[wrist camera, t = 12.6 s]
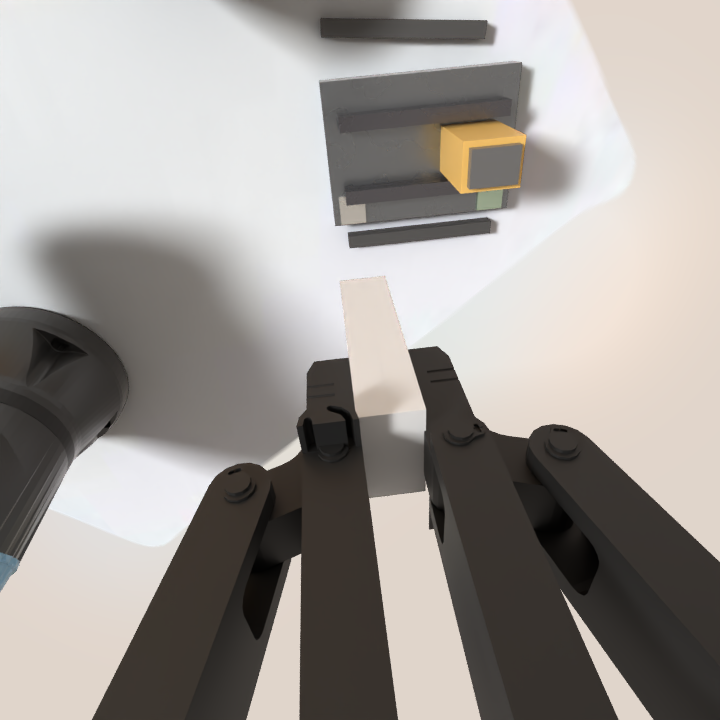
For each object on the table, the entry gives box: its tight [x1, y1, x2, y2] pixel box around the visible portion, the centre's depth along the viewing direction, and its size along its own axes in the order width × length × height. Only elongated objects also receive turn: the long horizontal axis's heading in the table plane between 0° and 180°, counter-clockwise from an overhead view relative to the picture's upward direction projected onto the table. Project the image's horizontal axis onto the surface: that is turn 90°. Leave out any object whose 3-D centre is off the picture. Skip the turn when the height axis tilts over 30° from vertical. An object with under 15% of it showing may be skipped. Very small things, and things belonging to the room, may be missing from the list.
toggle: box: [440, 120, 526, 194], centre depth 32 cm, size 4×3×7 cm
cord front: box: [321, 18, 487, 39], centre depth 31 cm, size 11×1×1 cm, turn 90°
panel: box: [319, 61, 522, 226], centre depth 34 cm, size 14×10×3 cm
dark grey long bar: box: [348, 217, 491, 248], centre depth 39 cm, size 12×1×1 cm, turn 95°
